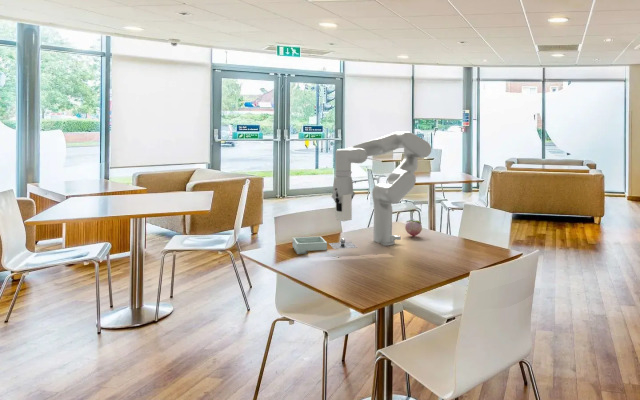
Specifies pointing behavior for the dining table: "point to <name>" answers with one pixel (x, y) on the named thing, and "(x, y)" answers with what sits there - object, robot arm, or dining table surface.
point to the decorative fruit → (413, 227)
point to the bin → (308, 244)
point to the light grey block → (345, 208)
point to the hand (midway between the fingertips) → (343, 209)
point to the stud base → (347, 245)
